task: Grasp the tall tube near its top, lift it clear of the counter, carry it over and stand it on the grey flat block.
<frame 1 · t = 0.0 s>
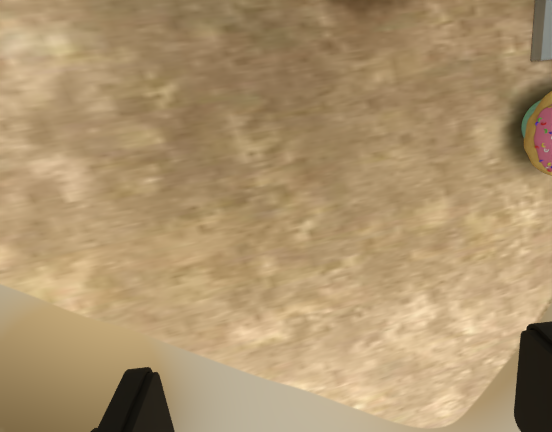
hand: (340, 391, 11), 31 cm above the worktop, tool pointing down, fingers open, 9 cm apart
cupcake: (545, 124, 40), on the worktop
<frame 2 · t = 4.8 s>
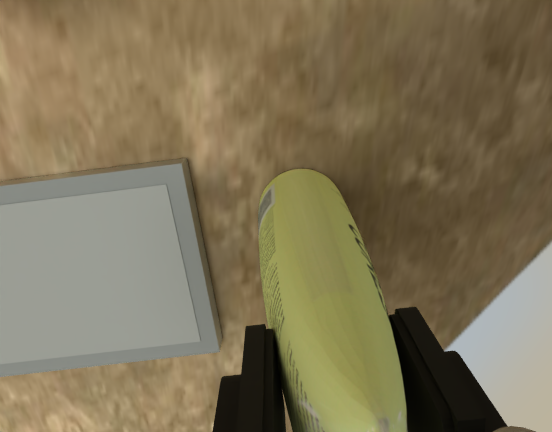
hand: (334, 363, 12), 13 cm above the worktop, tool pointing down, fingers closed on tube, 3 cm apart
grey flat block: (77, 270, 25), on the worktop
tube: (300, 210, 24), on the worktop, touching gripper
when the fingers open (16 cm above the worktop, at t = 10.5 s): tube stays where it is, resting on grey flat block.
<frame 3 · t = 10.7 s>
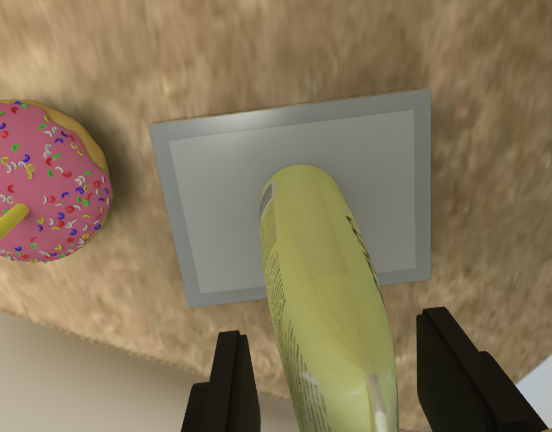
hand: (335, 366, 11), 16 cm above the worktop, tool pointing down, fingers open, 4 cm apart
grey flat block: (297, 200, 26), on the worktop
tube: (300, 205, 25), point 1 cm above the worktop, touching grey flat block
cupcake: (68, 166, 26), on the worktop
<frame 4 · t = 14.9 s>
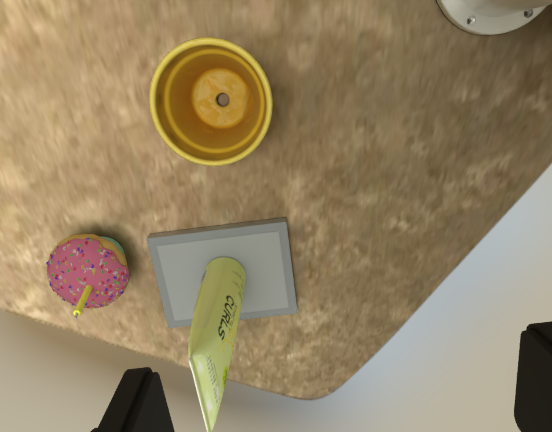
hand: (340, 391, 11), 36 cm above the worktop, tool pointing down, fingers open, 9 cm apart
grey flat block: (226, 271, 50), on the worktop
plant pot: (223, 98, 43), on the worktop
tube: (225, 275, 48), point 1 cm above the worktop, touching grey flat block
cupcake: (104, 254, 49), on the worktop
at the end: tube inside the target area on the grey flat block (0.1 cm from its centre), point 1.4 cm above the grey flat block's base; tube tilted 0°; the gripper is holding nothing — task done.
